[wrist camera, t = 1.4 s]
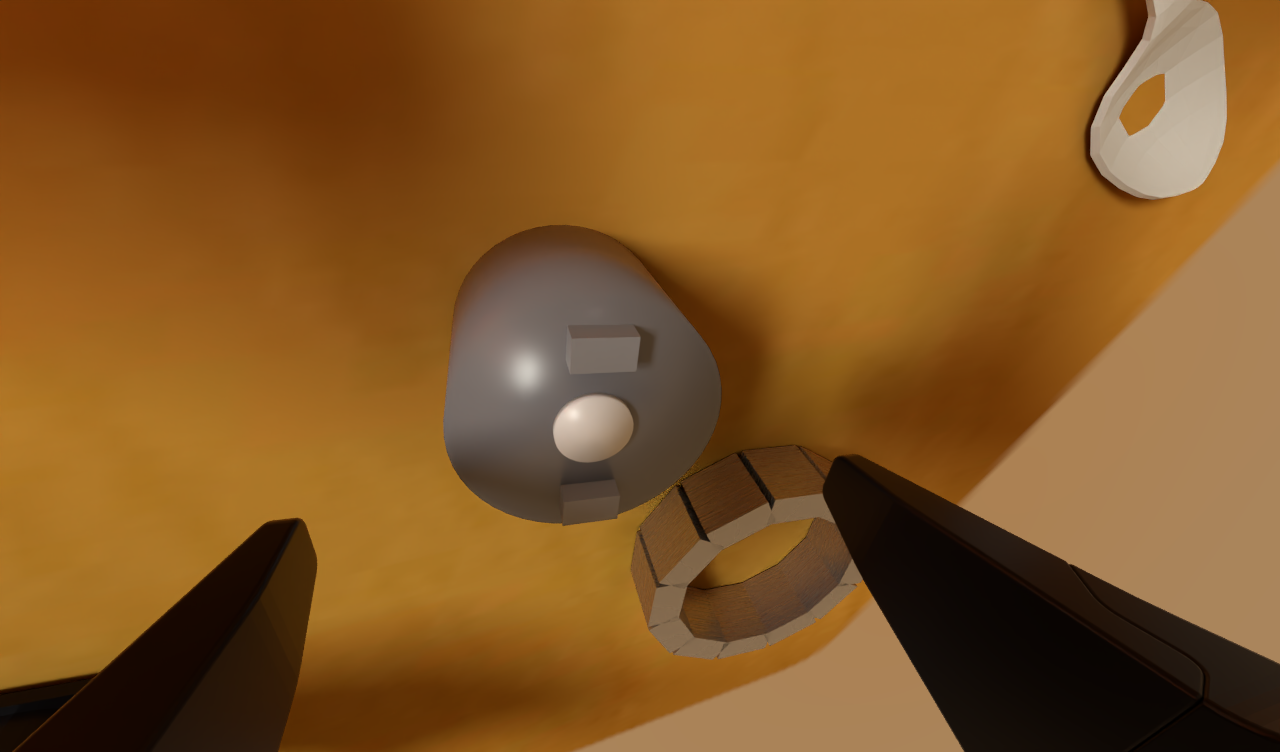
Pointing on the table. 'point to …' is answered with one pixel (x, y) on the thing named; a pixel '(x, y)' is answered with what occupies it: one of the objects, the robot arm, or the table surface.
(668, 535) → the segmented ring
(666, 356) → the cap
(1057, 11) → the table surface
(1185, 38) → the spoon
